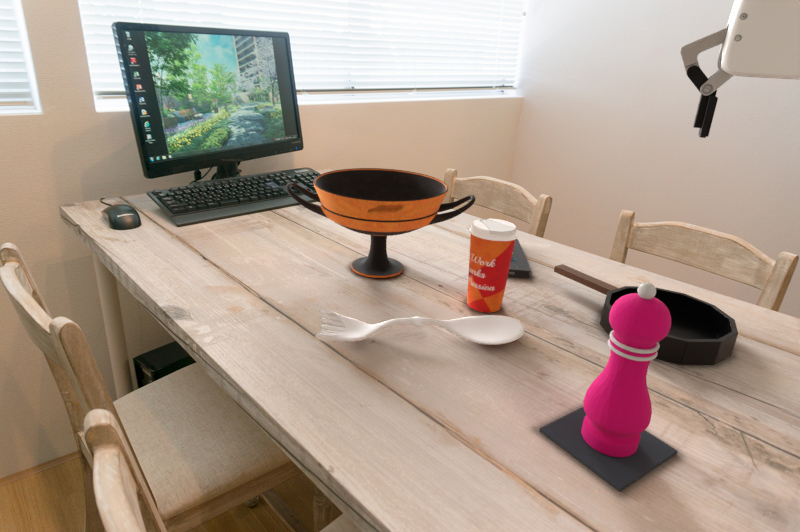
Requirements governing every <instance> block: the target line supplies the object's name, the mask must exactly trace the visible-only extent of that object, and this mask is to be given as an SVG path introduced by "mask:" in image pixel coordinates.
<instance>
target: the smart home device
mask: <svg viewBox="0 0 800 532" xmlns="http://www.w3.org/2000/svg"><path fill="white" fill-rule="evenodd" d="M508 277H512V278H525V279H529V278H530V277H531V267H530V264H529V262H528V259H527V258H526V255H525V252H524V250H523V248H522V244H521V243H520V241H519V239H518V238H516V239H515V244H514V249H513V254H512V258H511V263H510V268H509V273H508Z"/></svg>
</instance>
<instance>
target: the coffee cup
mask: <svg viewBox="0 0 800 532" xmlns="http://www.w3.org/2000/svg"><path fill="white" fill-rule="evenodd" d="M517 229H518V228H517V226H516V225H515V223H512V222H510V221H507V220H504V219H500V218H499V219H498V218H491V217H490V218H481V219H475V220H474V221H472V224H471V226H470V227H469V229H468V232H469V233H470V239H469V241H470V242H469V257H468V258H469V259H468V275H467V276H468V277H467V294H466V295H467V297H466V299H467V301H466V303H467V306H468V307H469V308H470V309H472V310H474V311H476V312H480V313H486V314H487V313H489V314H490V313H495V312H498V311H500V309H501V308H502V304H503V300H504V297H505V296H504V295H505V290H506V287H507V281H508V277H509V276H508V273H509V268H510V263H511V258H512V254H513V249H514V244H515V239H518V237H519V233H518V231H517Z"/></svg>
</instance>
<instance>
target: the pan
mask: <svg viewBox="0 0 800 532" xmlns="http://www.w3.org/2000/svg"><path fill="white" fill-rule="evenodd" d="M553 272H554V273H556V274H557V275H558V274H559V275H561V276H563V277H565V278H567V279H570V280H572V281H574V282H576V283H578V284H581V285H583V286H585V287H587V288H590V289H592V290H594V291H596V292H598V293H601V294H603V295H605V298H604V302H603V306H602V311H601V316H600V320H599V326H600V327H602V329H603V330H604V331H605V332H606V333H607V335H609V336H610V332H611V331H612V330H613V328H612V327H611V325H610V322H609V314H610V310H611V308H612V306H613V304H614V303H615V302H616V300H618V299H619V298H620V297H622V296H624V295H627V294H631V293H638V292H637V290H638V287H639V286H640V285H637V286H634V285H633V286H632V285H624V286H621V287H617V286H615V285H612V284H611V283H608V282H605V281H603V280H601V279H599V278H596V277H594V276H591V275H590V274H587V273H585V272H583V271H579V270H578V269H575V268H573V267H570V266H568V265H566V264H563V263H561V264H558V265H554V268H553ZM655 288H656V295H655V296H654V297H655V298H657V299H659V300H660V301H661V302H663V303H664V304H665V305H666V307H667V308H668V310H669V312H670V315H671V328H670V330H669V333H668V335H667V336H666V337H665V338H664V339H662V340H661V341H659V345H660V347H659V349H658V350H657V357H656V358H655V359H656V360H661V361H665V362H669V363H673V364H677V365H682V366H715V365H717V364H718V363H720V362H722V361H724V360H725V359H728V358H729V357H731V356H732V353H733V349H734V347H735V344H736V342H737V338H738V335H739V331H738V328H737V323H736V320H735V319H734V318H733V317H732V316H730V315H729V314H727V313H726V312H725V311H723V310H722V309H720V308H719V307H718V306H716V305H714V304H713V303H710V302H707V301H705V300H703V299H701V298H700V299H699V298H698V297H695V296H692V295H689V294H687V293H684V292H679V291H674V290H670V289H665V288H660V287H656V286H655Z"/></svg>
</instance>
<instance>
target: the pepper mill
mask: <svg viewBox="0 0 800 532" xmlns="http://www.w3.org/2000/svg"><path fill="white" fill-rule="evenodd" d="M638 286H639V287H638V290H637V292H638V293H631V294H627V295H624V296H622V297H620V298H619V299H618V300H616V302H615V303H614V304H613V306H612V308H611V310H610V314H609V322H610V325H611V327H612V328H613V330H612V331H611V332H610V335H609V339H607V346H608V348H609V349H610V353H609V358H608V361H607V362H606V365H605V366H604V368H603V370H602V371H601V372H600V373H599V375H597V377H595V379H593V381H592V382H591V384H590V385H589V387H588V388H587V389H586V392H585V394H584V398H583V402H582V407H583V408H584V411H585V413H586V416H585V418H584V421H583V425H582V429H581V433H582V436H583V439H584V440H585V441H586V443H587V444H588V445H589V446H591V447H592V448H593V449H595V450H597V451H598V452H600V453H603V454H605V455H608V456H612V457H628V456H630V455H633V454H634V453H635V452H636V451H637V448H638V445H639V441H640V437H641V436H640V433H641V432H643V431H644V430H645V431H646V430H647V429H648V427H649V426H650V424H651V420H652V414H653V408H652V400H651V397H650V392H649V389H648V385H647V375H648V371H649V366H650V364H651V361H653V360H655V359H657V358H656V357H657V350H658V349H659V347H660V345H659V341H661V340H662V339H664V338H665V337H666V336H667V335H668V333H669V330H670V328H671V315H670V312H669V310H668V308H667V307H666V305H665V304H664V303H663V302H661V301H660V300H659V299H657V298H655V297H654V296H655V295H656V288H657V287H656V286H655V285H654V284H653V283H650V282H643V283H641V284H639V285H638ZM655 287H656V288H655Z"/></svg>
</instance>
